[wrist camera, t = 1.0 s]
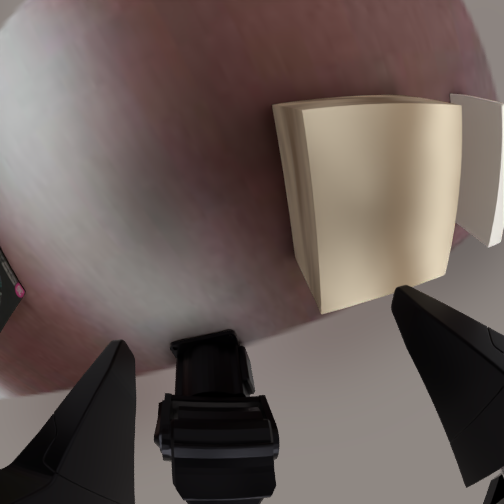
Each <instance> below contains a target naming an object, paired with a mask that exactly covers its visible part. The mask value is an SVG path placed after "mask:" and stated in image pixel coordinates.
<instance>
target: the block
mask: <svg viewBox="0 0 504 504" xmlns="http://www.w3.org/2000/svg"><path fill="white" fill-rule="evenodd" d="M272 109H273V114H274V120H275V126H276V131H277V137H278V143H279V149H280V155H281V162H282V168H283V174H284V181H285V187H286V194H287V201H288V208H289V215H290V223H291V230H292V237H293V245H294V253H295V259H296V261H297V263H298V265H299V267H300V269H301V271H302V273H303V275H304V278H305V280H306V282H307V284H308V286H309V288H310V290H311V293H312V295H313V297H314V299H315V301H316V303H317V306H318V308H319V310H320V312H321V314H325V313H329V312H332V311H336V310H339V309H343V308H346V307H350V306H353V305H356V304H360V303H363V302H366V301H370V300H373V299H376V298H379V297H382V296H386V295H388V294H392V293H394V291H395V289H396V287H399V286H402V285H408V286H410V287H413V286H415V285H418V284H421V283H424V282H427V281H429V280H432V279H435V278H438V277H441V276H443V275H445V272H446V268H447V264H448V259H449V254H450V249H451V244H452V238H453V233H454V227H455V220H456V213H457V205H458V197H459V187H460V175H461V159H462V105H458V104H453V103H448V102H443V101H437V100H431V99H425V98H419V97H412V96H404V95H364V96H346V97H332V98H321V99H311V100H302V101H294V102H287V103H280V104H273V105H272Z"/></svg>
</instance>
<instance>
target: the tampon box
mask: <svg viewBox="0 0 504 504" xmlns="http://www.w3.org/2000/svg"><path fill="white" fill-rule="evenodd" d="M24 294H25V291H24V290H23V288H22V286H21V285H20V283H19V282H18V280H17V278H16V277H15V275H14V273H13V271H12V270H11V268H10V266H9V264H8V263H7V261H6V259H5V257H4V255H3V253H2V251H1V249H0V332H1V331H2V329H3V327H4V326H5V324H6V322H7V321H8V319H9V317H10V316H11V314H12V313H13V311H14V310H15V308H16V307H17V305H18V304H19V302H20V301H21V299H22V298H23V296H24Z"/></svg>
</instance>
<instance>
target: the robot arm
mask: <svg viewBox="0 0 504 504" xmlns="http://www.w3.org/2000/svg"><path fill="white" fill-rule="evenodd" d="M391 309H392V313H393V315H394V317H395V320H396V323H397V325H398V328H399V330H400V333H401V335H402V338H403V340H404V343H405V345H406V348H407V350H408V352H409V354H410V356H411V358H412V359H413V362H414V364H415V366H416V368H417V370H418V372H419V374H420V376H421V378H422V380H423V382H424V384H425V386H426V389H427V391H428V393H429V395H430V397H431V399H432V402H433V404H434V406H435V408H436V411H437V413H438V415H439V418H440V420H441V422H442V425H443V427H444V429H445V432H446V434H447V437H448V439H449V442H450V445H451V447H452V450H453V453H454V455H455V458H456V461H457V463H458V466H459V469H460V472H461V475H462V478H463V481H464V484H465V486H466V488H467V487H469V486H471V485H473V484H475V483H477V482H478V481H480V480H482V479H484V478H485V477H487V476H489V475H491V474H492V473H494V472H495V471H497V470H499V469H500V471H501V473H500V474H499V475H498V476H496V477H495V478H494V479H493V480H491V482H490V485H489V489H488V491H487V495H486V497H485V500H484V502H483V504H504V335H502V334H500V333H498V332H496V331H494V330H492V329H491V328H489V327H488V328H487V326H485V325H483V324H481V323H480V322H478V321H476V320H474V319H472V318H470V317H469V316H467V315H465V314H463V313H461V312H459V311H457V310H455V309H453V308H452V307H450V306H448V305H446V304H444V303H442V302H440V301H438V300H436V299H434V298H432V297H430V296H428V295H426V294H424V293H422V292H420V291H418V290H416V289H414V288H412V287H410V286H408V285H402V286H399V287H396V289H395V291H394V295H393V300H392V305H391ZM229 335H232V336H229ZM170 349H171V351H172V353H173V354H174V356H175V357H176V359H177V362H176V381H175V395H172V394H169V393H165V400H163V401H162V402H160V403H159V409H158V420H157V424H156V429H155V434H154V442H155V444H156V445H157V446H158V447H159V448H160V451H161V453H162V455H163V460H164V461H172V478H173V484H174V486H175V487H176V490H177V491H178V493H179V494H180V496H181V497H182V499H183V500H186V502H187V503H188V504H260V503H261V501H262V500H263V498H267V497H271V495H272V494H273V491H274V489H275V487H276V481H275V472H274V460H275V459H277V457H278V453H279V434H278V429H277V426H276V423H275V420H274V418H273V415H272V413H271V410H270V407H269V405H268V402H267V399H266V397H265V395H259V396H255V397H250V394H254V392H255V387H254V381H253V376H252V370H251V364H250V360H249V357H248V355H247V352H246V349H245V347H244V346H240V344H239V342H238V339H237V336H236V334H235V332H234V331H231V330H230V331H225V332H220V333H216V334H211V335H207V336H202V337H197V338H192V339H187V340H182V341H177V342H173V343H171V345H170ZM135 415H136V379H135V358H134V355H133V353H132V352H131V350H130V349H129V347H128V345H127V344H126V342H125V341H124V340H113V341H111V342H110V343H109V345H108V346H107V347H106V348H105V349H104V351H103V352H102V353H101V354H100V355H99V357H98V358H97V359H96V360H95V361H94V363H93V364H92V365H91V366H90V368H89V369H88V370H87V371H86V372H85V374H84V375H83V376H82V377H81V379H80V380H79V381H78V382H77V384H76V385H75V386H74V387H73V389H72V390H71V391H70V393H69V394H68V395H67V396H66V398H65V399H64V400H63V402H62V403H61V404H60V405H59V407H58V408H57V409H56V411H55V412H54V414H53V415H52V416H51V417H50V419H49V420H48V421H47V422H46V424H45V425H44V426H43V427H42V429H41V430H40V431H39V433H38V434H37V435H36V436H35V437H34V438H33V439H32V441H31V442H30V443H29V444H28V445H27V446H26V447H25V449H24V450H23V451H22V452H21V453H20V455H18V456H17V458H16V459H15V460H14V461H13V462H12V463H11V464H10V465H8V466H7V467H5V468H3V469H0V504H135V496H134V438H135Z"/></svg>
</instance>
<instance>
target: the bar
mask: <svg viewBox="0 0 504 504" xmlns="http://www.w3.org/2000/svg"><path fill="white" fill-rule="evenodd" d="M450 103H453V104H458V105H462V159H461V175H460V187H459V197H458V205H457V213H456V220H455V223H457V224H458V225H460V226H461V227H462V228H464V229H465V230H466V231H467V232H469V233H470V234H471V235H473V236H474V237H475V238H477V239H478V240H479V241H480V242H482V243H483V244H484V245H485V246H487V247H491V246H493V245H496V244H498V243H500V242H501V237H502V233H503V228H504V103H501V102H497V101H493V100H488V99H484V98H479V97H474V96H469V95H464V94H450Z"/></svg>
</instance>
